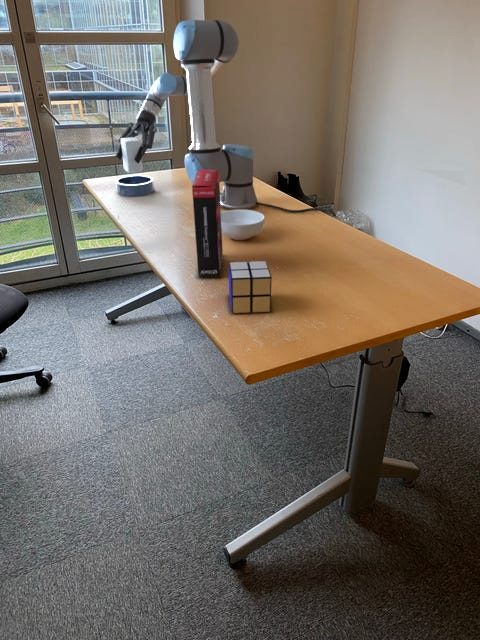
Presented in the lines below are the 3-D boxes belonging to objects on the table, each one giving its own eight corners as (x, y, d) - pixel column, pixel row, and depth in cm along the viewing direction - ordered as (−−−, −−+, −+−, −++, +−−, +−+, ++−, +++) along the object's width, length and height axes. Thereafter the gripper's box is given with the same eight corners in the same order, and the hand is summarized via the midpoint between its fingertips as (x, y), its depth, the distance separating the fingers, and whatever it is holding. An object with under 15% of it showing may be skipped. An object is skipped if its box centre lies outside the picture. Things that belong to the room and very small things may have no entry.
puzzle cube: (229, 295, 137) (228, 262, 131) (265, 294, 137) (266, 260, 132) (231, 314, 128) (231, 278, 123) (270, 312, 129) (271, 277, 124)
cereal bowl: (271, 231, 178) (272, 212, 175) (252, 248, 165) (253, 227, 162) (228, 225, 184) (228, 206, 181) (207, 240, 171) (206, 220, 168)
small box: (143, 171, 215) (140, 140, 208) (128, 173, 213) (125, 141, 206) (138, 167, 221) (134, 136, 215) (123, 169, 219) (120, 138, 212)
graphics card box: (220, 279, 145) (217, 185, 132) (196, 279, 146) (191, 185, 132) (222, 255, 160) (220, 168, 146) (201, 255, 160) (196, 168, 146)
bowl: (159, 188, 226) (158, 176, 223) (143, 198, 213) (142, 186, 210) (128, 185, 230) (126, 174, 228) (110, 195, 217) (109, 183, 215)
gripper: (173, 122, 214) (152, 168, 210) (133, 118, 224) (113, 161, 221) (164, 111, 207) (142, 157, 204) (124, 106, 217) (102, 151, 214)
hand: (127, 159), depth 212 cm, fingers closed on small box, 10 cm apart
